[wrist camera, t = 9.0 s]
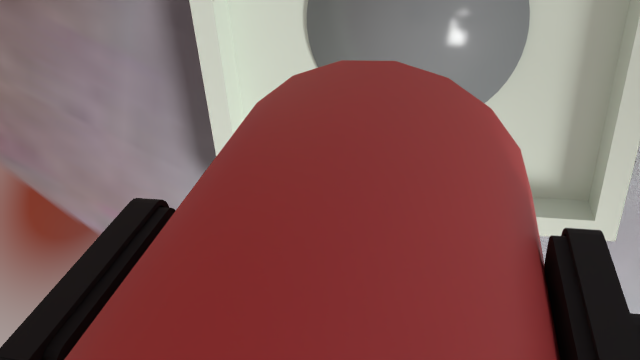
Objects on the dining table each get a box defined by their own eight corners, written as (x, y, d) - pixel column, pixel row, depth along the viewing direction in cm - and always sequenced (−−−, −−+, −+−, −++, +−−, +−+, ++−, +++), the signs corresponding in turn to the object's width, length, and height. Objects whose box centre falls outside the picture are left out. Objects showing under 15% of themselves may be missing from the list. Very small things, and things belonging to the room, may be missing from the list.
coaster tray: (713, -268, 18) (744, -280, 16) (604, 210, 27) (615, 241, 25) (179, -218, 22) (151, -222, 20) (241, 188, 31) (226, 213, 29)
